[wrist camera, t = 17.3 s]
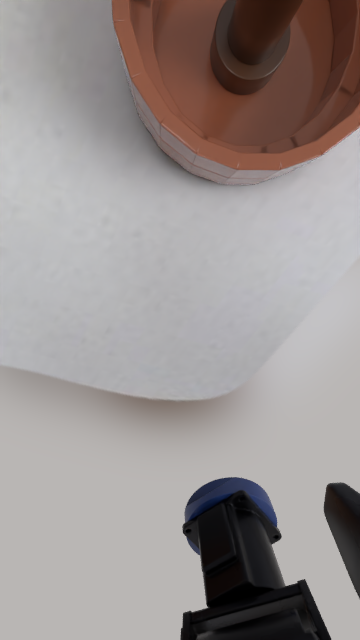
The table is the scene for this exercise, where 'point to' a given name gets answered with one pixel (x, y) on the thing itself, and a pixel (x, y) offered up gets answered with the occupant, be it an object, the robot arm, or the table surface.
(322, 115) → the bowl
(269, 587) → the robot arm
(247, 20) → the brown peg
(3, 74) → the table surface
